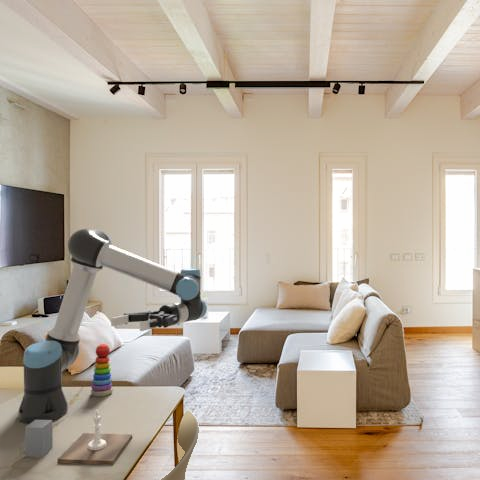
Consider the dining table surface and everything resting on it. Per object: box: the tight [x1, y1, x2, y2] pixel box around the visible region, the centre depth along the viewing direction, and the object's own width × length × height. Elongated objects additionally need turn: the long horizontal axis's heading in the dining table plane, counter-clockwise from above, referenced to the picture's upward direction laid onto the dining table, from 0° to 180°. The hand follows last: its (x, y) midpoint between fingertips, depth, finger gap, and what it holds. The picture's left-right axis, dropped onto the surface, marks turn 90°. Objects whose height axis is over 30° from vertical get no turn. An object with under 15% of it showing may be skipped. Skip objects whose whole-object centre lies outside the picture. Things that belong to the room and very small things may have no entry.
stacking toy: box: [90, 343, 114, 397], centre depth 162 cm, size 8×8×19 cm
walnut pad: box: [57, 432, 133, 466], centre depth 118 cm, size 15×15×1 cm
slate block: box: [24, 420, 54, 458], centre depth 117 cm, size 5×5×8 cm
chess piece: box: [88, 409, 106, 450], centre depth 118 cm, size 5×5×10 cm
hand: (125, 324), depth 133 cm, fingers open, 13 cm apart
